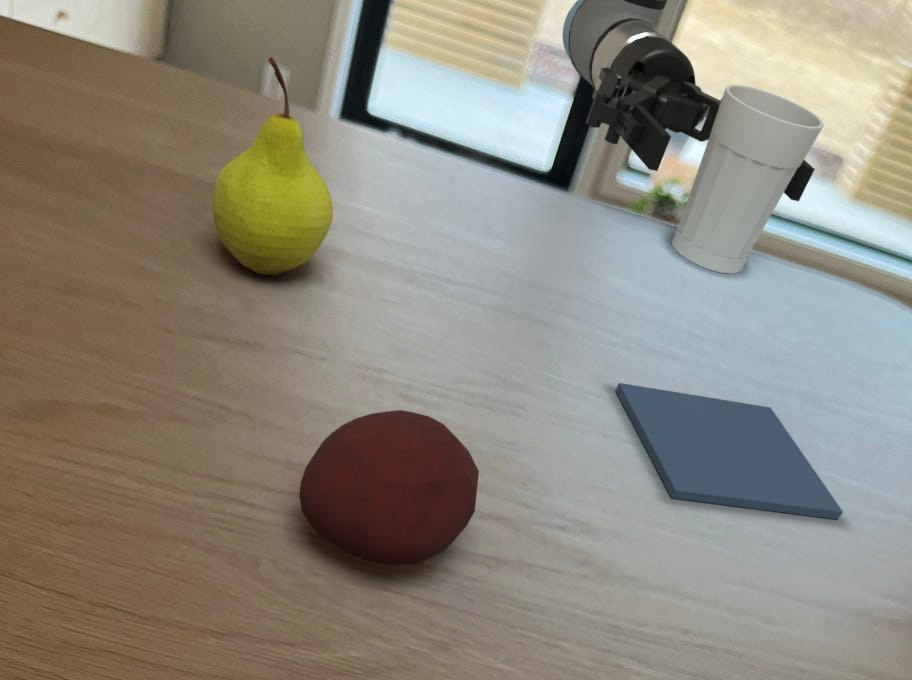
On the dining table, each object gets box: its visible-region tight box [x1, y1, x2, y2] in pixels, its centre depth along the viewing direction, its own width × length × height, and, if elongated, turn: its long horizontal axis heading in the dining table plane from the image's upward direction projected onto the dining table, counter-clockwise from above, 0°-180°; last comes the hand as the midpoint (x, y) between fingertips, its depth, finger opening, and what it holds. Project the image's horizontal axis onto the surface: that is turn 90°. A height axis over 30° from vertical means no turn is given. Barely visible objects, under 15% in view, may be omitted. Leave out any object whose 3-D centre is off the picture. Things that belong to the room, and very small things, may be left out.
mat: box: [615, 382, 844, 520], centre depth 63 cm, size 11×11×1 cm
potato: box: [299, 409, 480, 567], centre depth 46 cm, size 7×8×6 cm
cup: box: [671, 84, 825, 274], centre depth 84 cm, size 8×8×12 cm
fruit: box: [212, 57, 334, 276], centre depth 61 cm, size 7×7×12 cm
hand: (733, 169), depth 84 cm, fingers open, 13 cm apart
